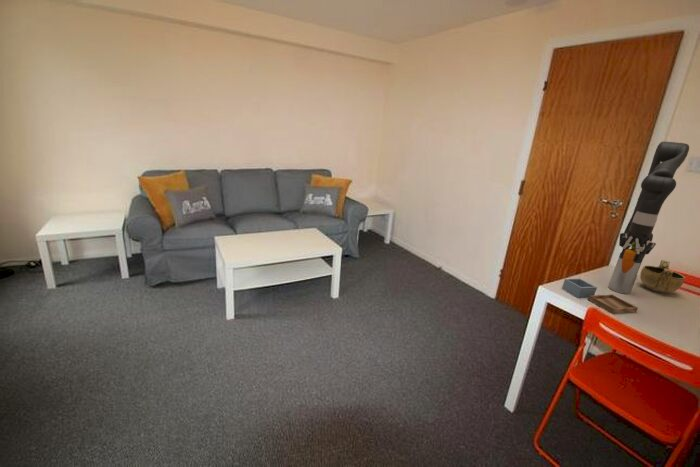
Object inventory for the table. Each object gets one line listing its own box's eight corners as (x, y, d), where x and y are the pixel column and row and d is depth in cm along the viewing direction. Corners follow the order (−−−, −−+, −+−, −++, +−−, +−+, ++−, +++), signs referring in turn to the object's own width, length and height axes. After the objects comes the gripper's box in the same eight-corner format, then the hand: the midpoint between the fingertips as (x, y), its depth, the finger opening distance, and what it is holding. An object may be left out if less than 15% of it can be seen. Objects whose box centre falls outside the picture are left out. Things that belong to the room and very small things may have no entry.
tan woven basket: (678, 303, 167) (691, 275, 162) (636, 290, 177) (646, 264, 172) (674, 289, 184) (686, 264, 179) (635, 278, 194) (645, 254, 189)
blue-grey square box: (576, 288, 172) (579, 278, 171) (593, 297, 164) (597, 287, 162) (561, 288, 170) (564, 278, 168) (578, 298, 161) (581, 287, 159)
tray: (610, 298, 164) (612, 294, 163) (636, 312, 153) (638, 307, 152) (587, 299, 160) (589, 295, 159) (612, 314, 149) (614, 309, 148)
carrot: (625, 271, 153) (637, 240, 149) (633, 276, 149) (646, 244, 144) (614, 270, 154) (626, 239, 149) (621, 274, 149) (634, 243, 144)
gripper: (668, 228, 138) (652, 265, 143) (633, 218, 151) (620, 253, 157) (654, 227, 136) (639, 266, 142) (620, 217, 149) (607, 253, 155)
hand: (629, 259), depth 149 cm, fingers closed on carrot, 4 cm apart
